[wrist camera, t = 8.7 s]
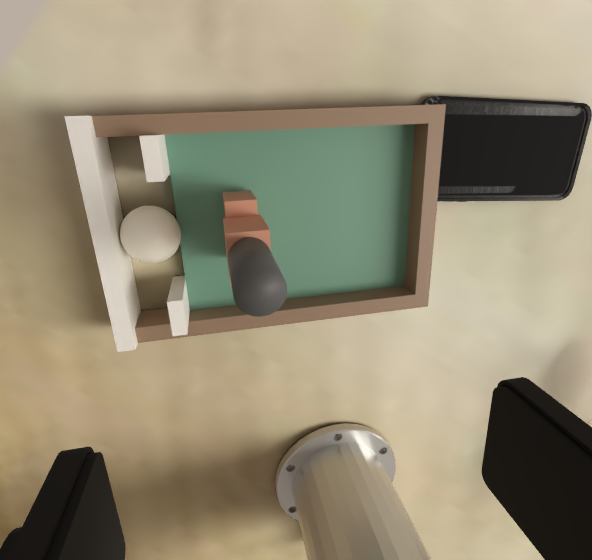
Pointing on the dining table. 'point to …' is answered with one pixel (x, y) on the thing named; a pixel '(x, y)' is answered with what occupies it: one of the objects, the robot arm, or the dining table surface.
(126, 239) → the ball
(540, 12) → the dining table surface
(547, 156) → the phone
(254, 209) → the kicker
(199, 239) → the pitch
